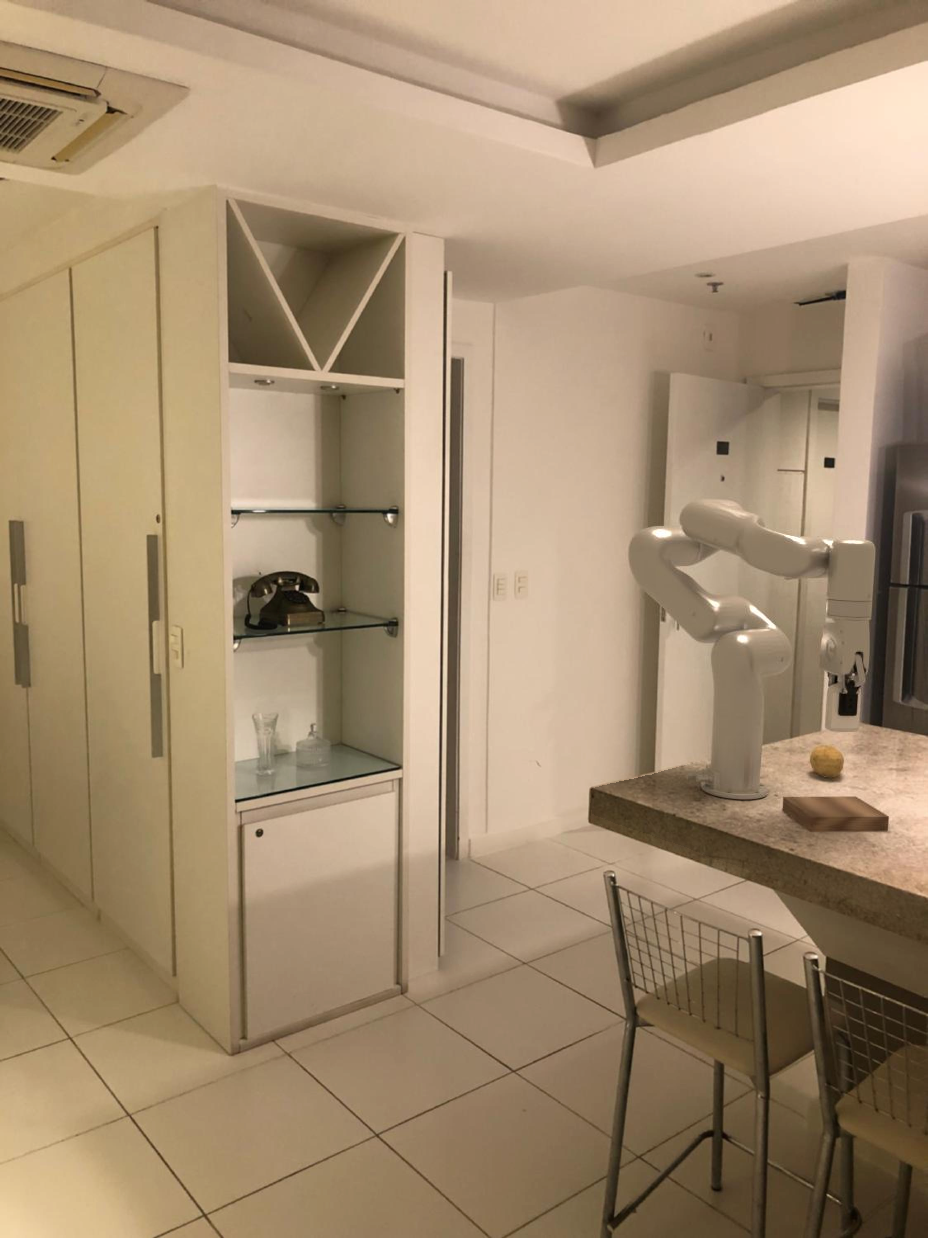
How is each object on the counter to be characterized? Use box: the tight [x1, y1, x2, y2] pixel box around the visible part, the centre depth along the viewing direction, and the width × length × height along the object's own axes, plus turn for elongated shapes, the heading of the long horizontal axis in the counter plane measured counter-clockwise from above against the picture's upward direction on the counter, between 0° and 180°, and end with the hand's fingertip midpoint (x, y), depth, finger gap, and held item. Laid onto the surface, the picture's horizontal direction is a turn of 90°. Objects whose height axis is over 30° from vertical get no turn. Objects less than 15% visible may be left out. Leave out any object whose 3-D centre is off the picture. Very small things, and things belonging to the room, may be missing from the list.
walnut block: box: [781, 795, 890, 832], centre depth 183 cm, size 14×12×3 cm
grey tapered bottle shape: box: [824, 672, 862, 733], centre depth 181 cm, size 4×6×12 cm
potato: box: [809, 744, 845, 779], centre depth 214 cm, size 7×11×6 cm, turn 157°
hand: (842, 712), depth 181 cm, fingers closed on grey tapered bottle shape, 3 cm apart
